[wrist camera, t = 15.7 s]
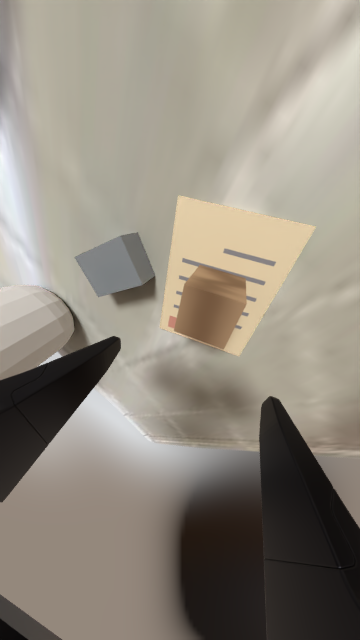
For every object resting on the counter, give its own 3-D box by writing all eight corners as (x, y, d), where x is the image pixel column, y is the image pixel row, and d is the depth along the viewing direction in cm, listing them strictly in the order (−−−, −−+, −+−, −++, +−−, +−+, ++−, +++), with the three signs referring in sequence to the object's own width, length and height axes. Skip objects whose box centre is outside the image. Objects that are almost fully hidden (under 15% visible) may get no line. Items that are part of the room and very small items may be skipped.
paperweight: (138, 232, 18) (120, 235, 16) (156, 275, 21) (142, 284, 18) (96, 251, 21) (74, 257, 19) (115, 286, 24) (98, 297, 21)
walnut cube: (245, 278, 17) (246, 304, 12) (228, 316, 20) (223, 349, 15) (200, 264, 18) (184, 284, 13) (189, 303, 21) (173, 331, 16)
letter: (315, 226, 13) (316, 226, 13) (239, 355, 23) (239, 356, 23) (178, 195, 15) (178, 195, 15) (159, 327, 25) (159, 327, 24)
